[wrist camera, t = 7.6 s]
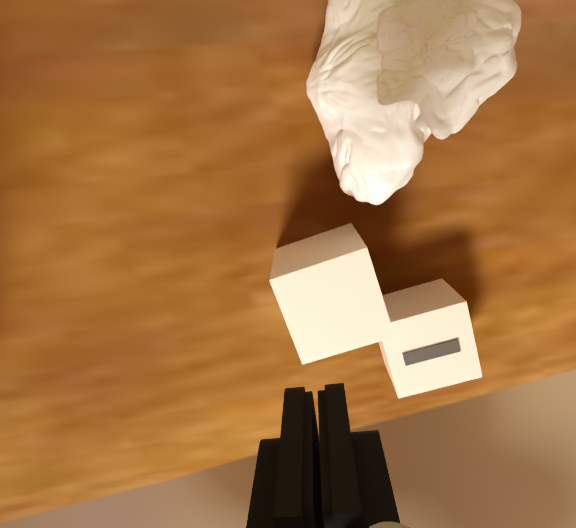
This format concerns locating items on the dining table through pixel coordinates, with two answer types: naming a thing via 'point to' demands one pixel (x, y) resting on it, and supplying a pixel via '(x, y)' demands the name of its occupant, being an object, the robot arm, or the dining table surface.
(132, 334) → the dining table surface
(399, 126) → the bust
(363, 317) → the cream block
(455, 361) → the marked block
